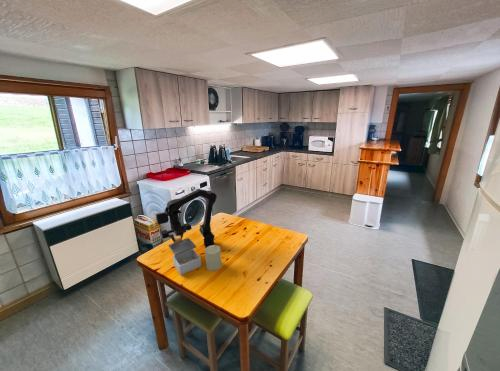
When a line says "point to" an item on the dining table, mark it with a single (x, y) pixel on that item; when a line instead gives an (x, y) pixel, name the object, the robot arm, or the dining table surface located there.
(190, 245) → the lid
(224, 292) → the dining table surface
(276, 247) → the dining table surface
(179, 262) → the tub
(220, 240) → the dining table surface
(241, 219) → the dining table surface
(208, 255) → the can
